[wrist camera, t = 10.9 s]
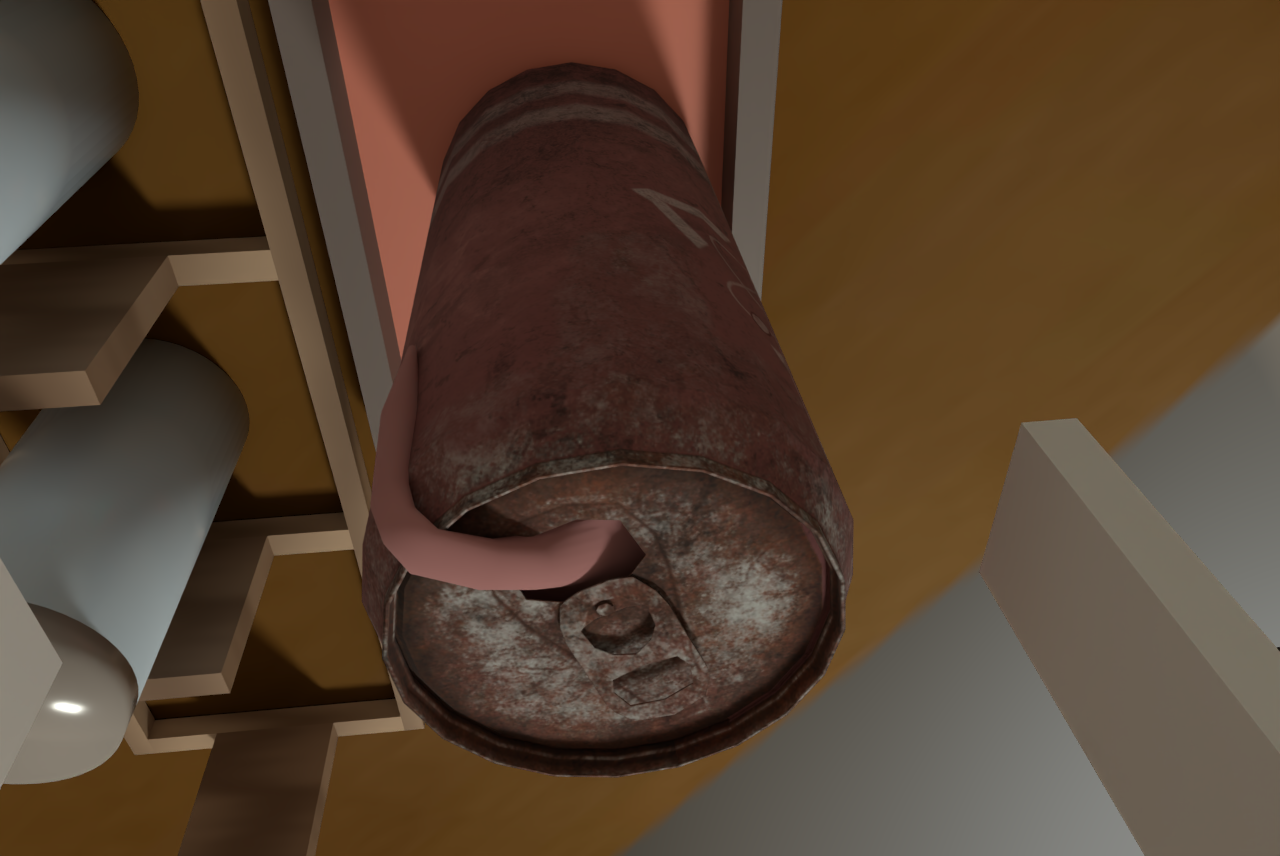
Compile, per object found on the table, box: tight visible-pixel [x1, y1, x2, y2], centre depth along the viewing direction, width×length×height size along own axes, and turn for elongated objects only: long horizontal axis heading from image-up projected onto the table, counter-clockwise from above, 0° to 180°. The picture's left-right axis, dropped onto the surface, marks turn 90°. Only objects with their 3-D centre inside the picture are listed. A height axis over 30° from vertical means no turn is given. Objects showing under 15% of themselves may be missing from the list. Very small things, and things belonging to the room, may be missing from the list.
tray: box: [268, 0, 782, 451], centre depth 21 cm, size 10×16×2 cm, turn 1°
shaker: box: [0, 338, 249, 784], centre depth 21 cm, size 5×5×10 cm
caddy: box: [0, 0, 425, 856], centre depth 23 cm, size 10×28×6 cm, turn 1°
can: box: [362, 62, 853, 777], centre depth 16 cm, size 6×6×14 cm
